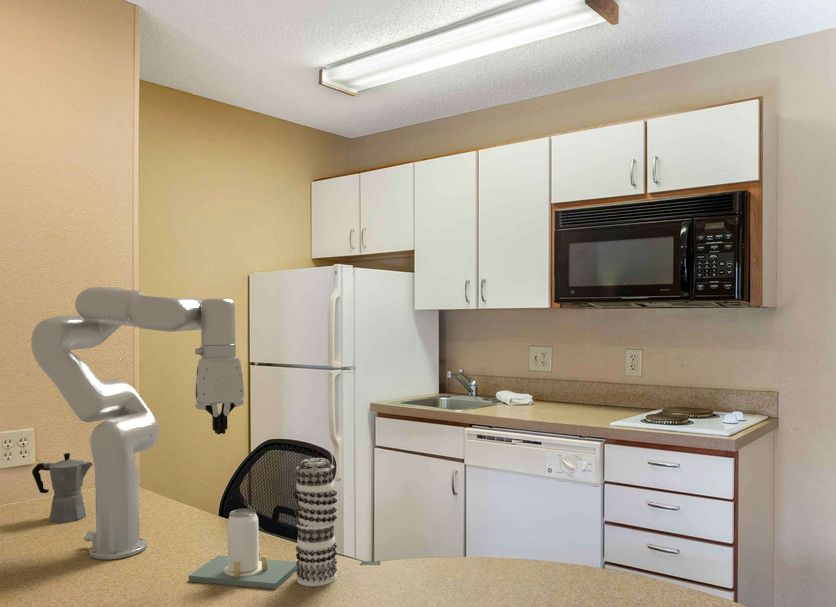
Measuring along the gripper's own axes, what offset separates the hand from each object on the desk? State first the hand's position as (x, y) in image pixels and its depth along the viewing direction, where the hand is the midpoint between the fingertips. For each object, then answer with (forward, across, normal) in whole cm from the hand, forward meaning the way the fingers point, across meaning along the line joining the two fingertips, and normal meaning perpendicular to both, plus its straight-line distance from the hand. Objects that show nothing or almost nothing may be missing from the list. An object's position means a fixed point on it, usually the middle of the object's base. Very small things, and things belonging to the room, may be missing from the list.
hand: (220, 433), depth 158 cm
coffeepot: (+29, -28, +57) cm, 70 cm away
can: (+28, +2, -10) cm, 30 cm away
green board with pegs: (+29, +2, -11) cm, 31 cm away
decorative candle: (+29, +14, -21) cm, 39 cm away
